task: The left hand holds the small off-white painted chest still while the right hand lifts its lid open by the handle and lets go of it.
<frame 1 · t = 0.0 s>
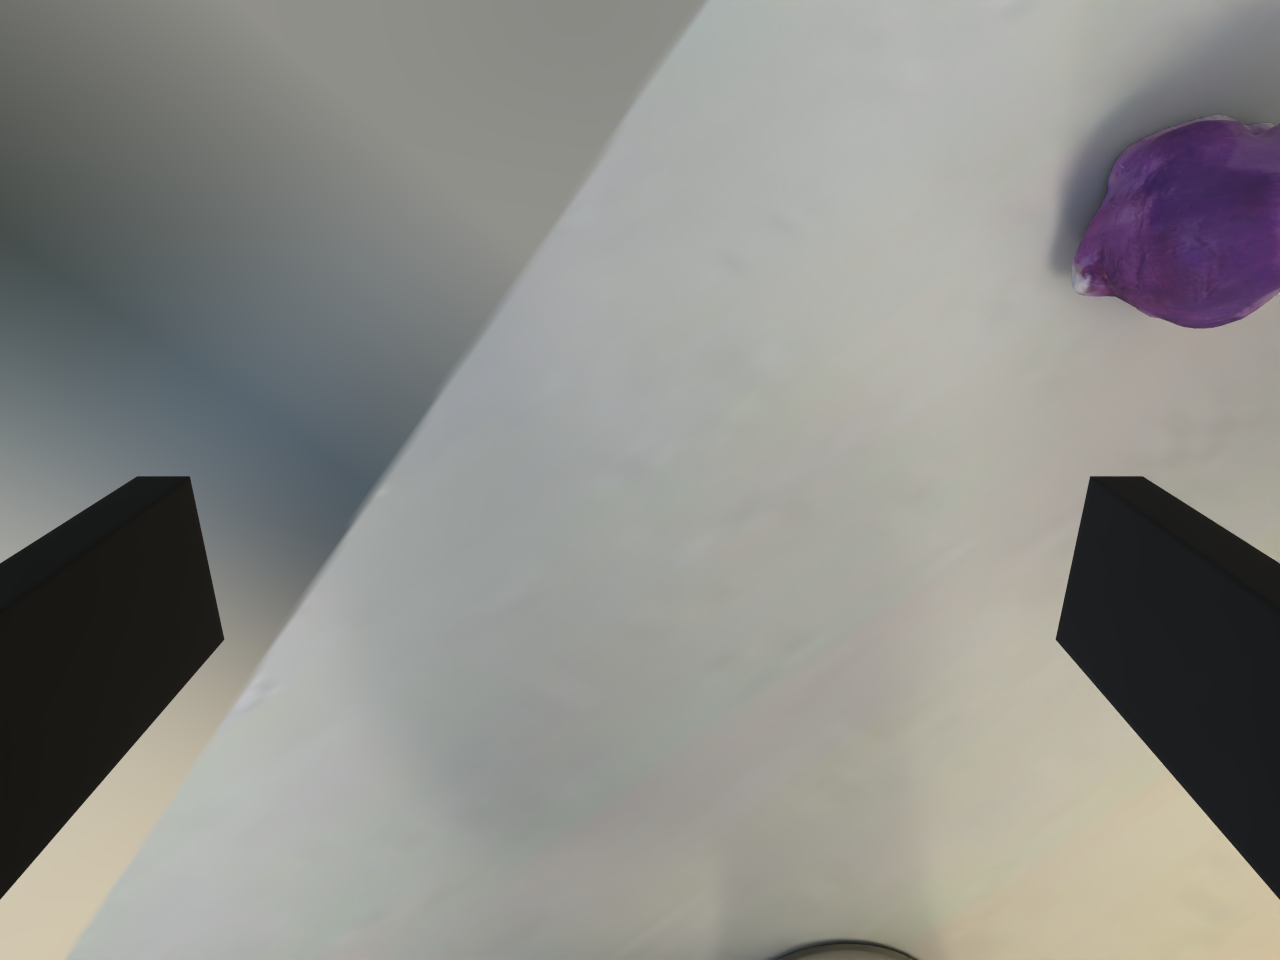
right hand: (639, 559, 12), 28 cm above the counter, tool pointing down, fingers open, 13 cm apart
figurine: (1183, 199, 37), on the counter
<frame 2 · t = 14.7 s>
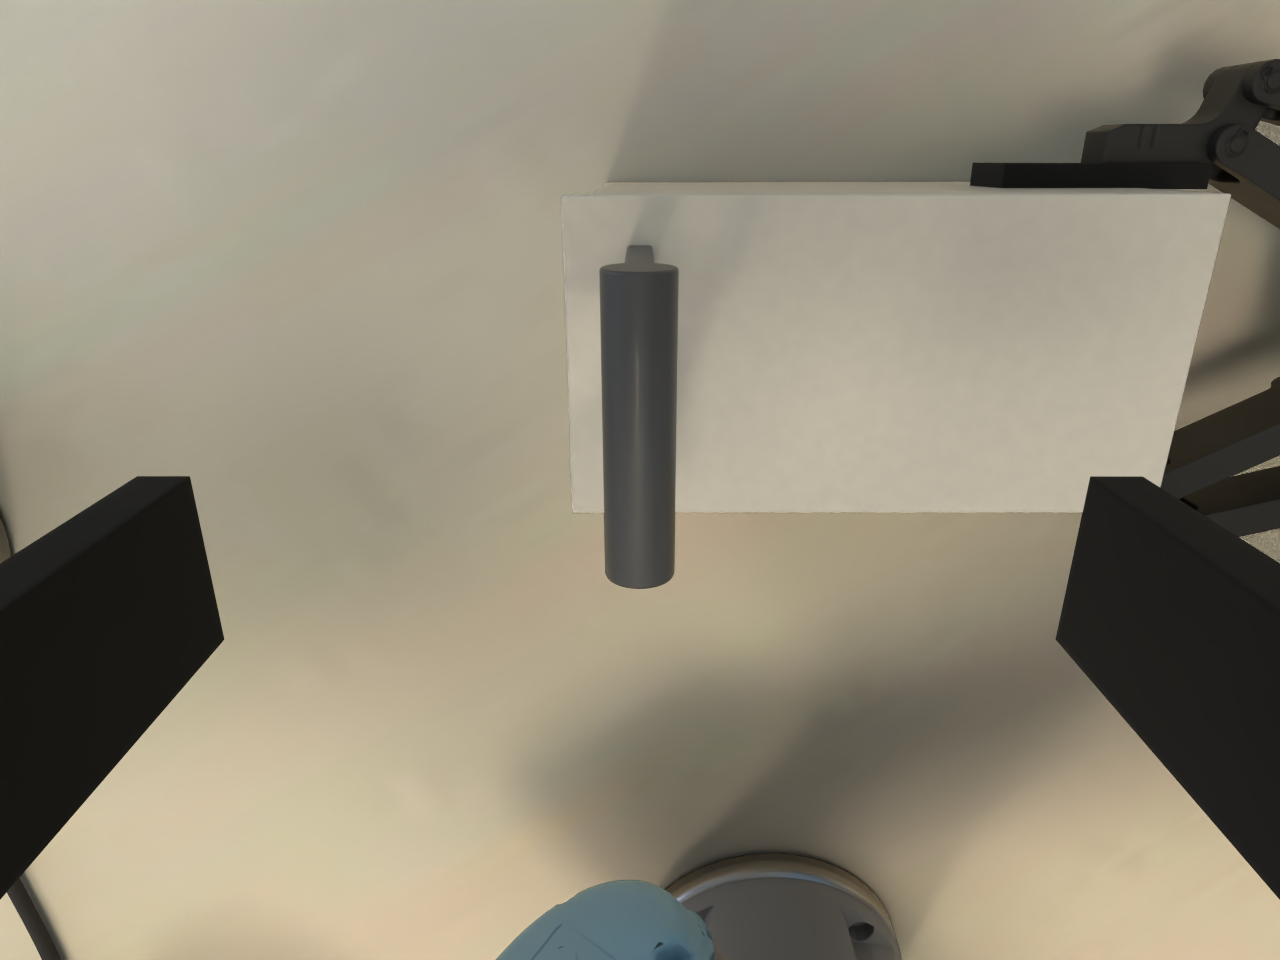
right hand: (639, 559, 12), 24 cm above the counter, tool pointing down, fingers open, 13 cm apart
chest: (811, 298, 35), on the counter, touching left hand
lid: (908, 391, 21), point 15 cm above the counter, hinge at 0.0°
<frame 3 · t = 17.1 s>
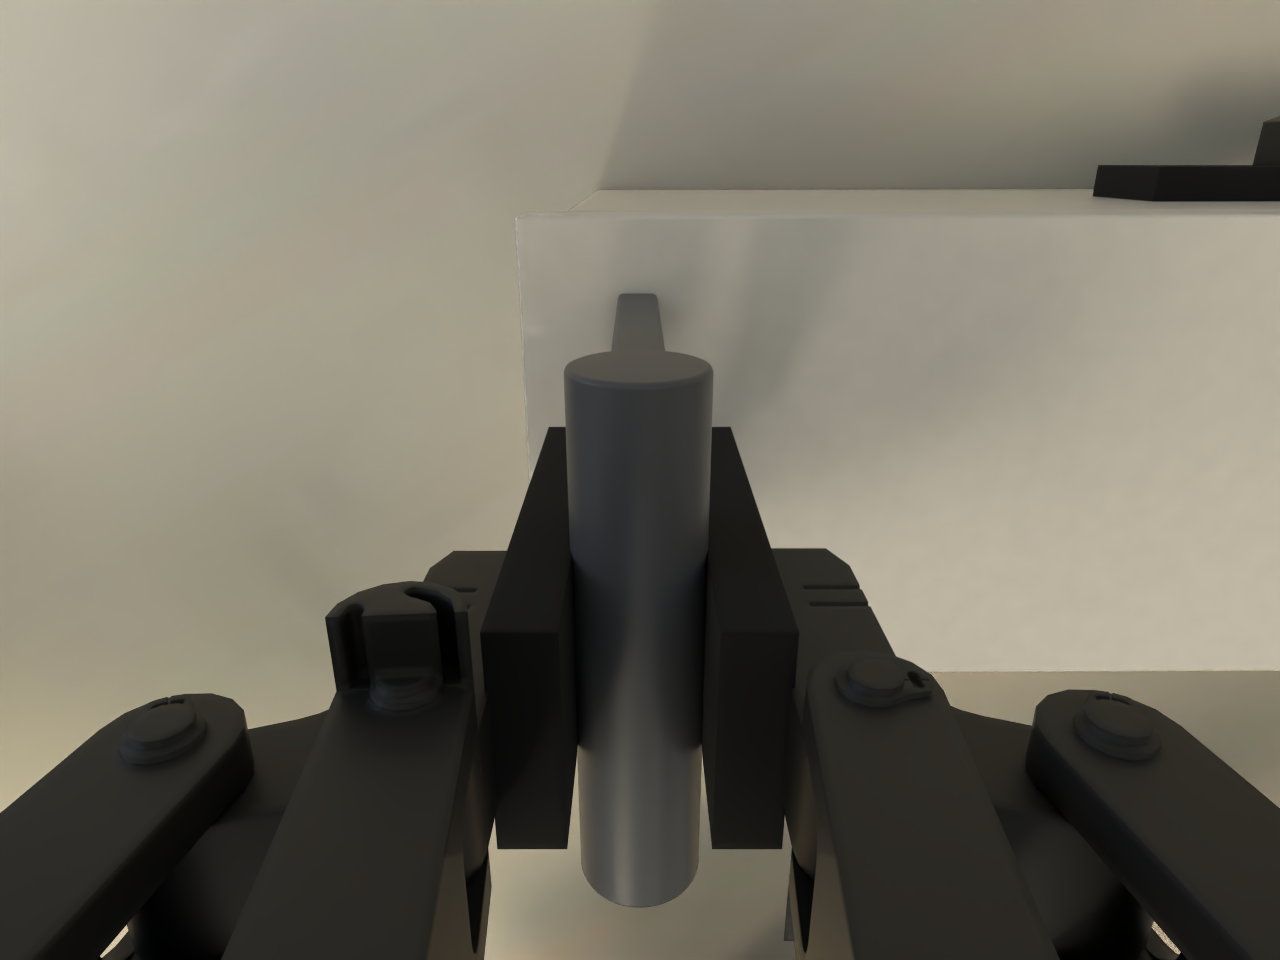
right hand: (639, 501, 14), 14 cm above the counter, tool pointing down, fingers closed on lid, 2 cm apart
chest: (860, 338, 27), on the counter, touching left hand
lid: (1066, 530, 13), point 15 cm above the counter, hinge at 0.6°, touching right hand
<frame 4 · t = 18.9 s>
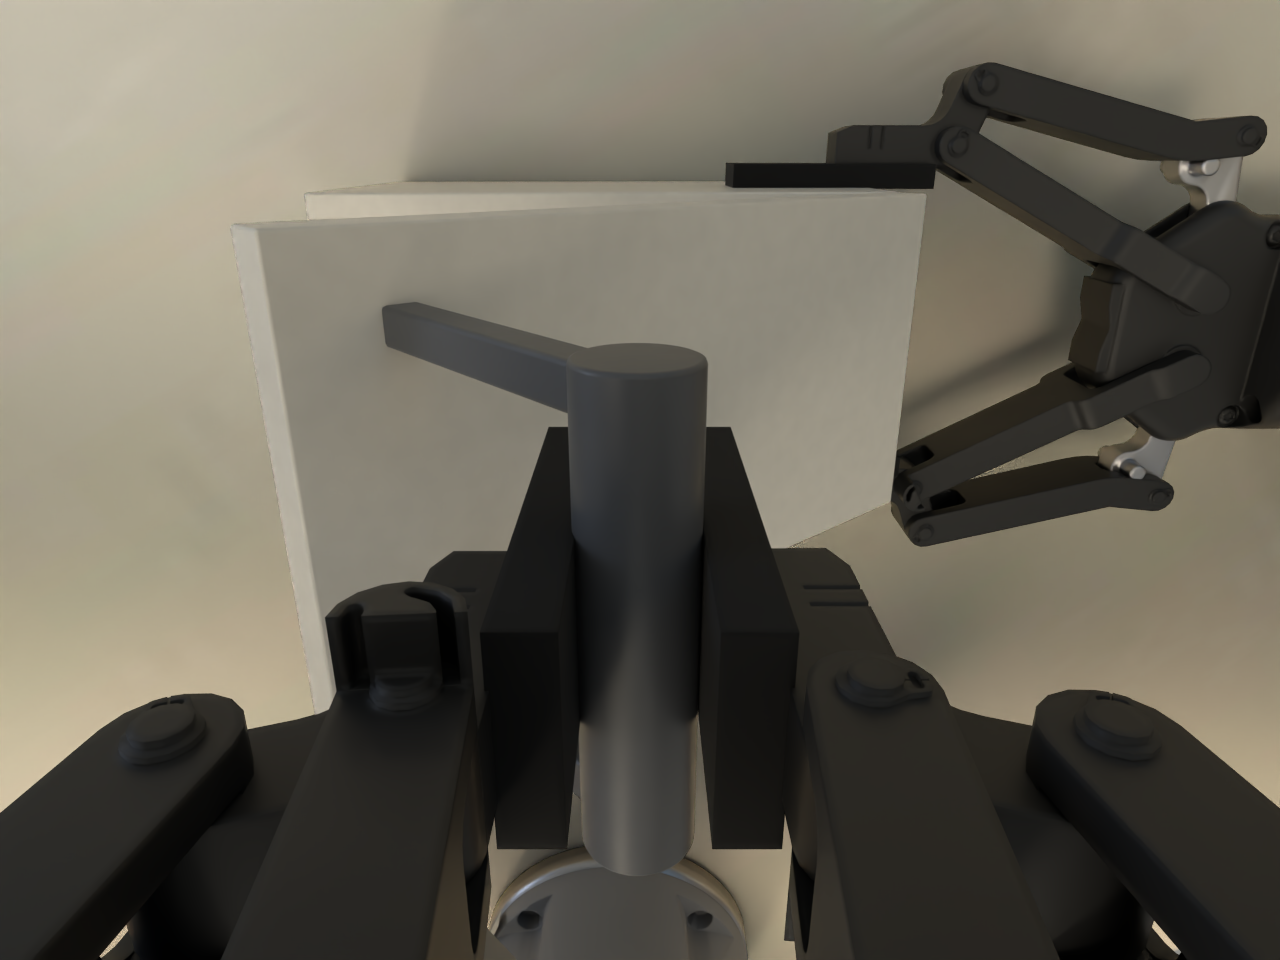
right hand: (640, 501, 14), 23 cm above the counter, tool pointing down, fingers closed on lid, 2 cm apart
left hand: (723, 323, 30), fingers closed on chest, 9 cm apart
chest: (610, 296, 36), on the counter, touching left hand
lid: (786, 447, 17), point 20 cm above the counter, hinge at 39.6°, touching right hand
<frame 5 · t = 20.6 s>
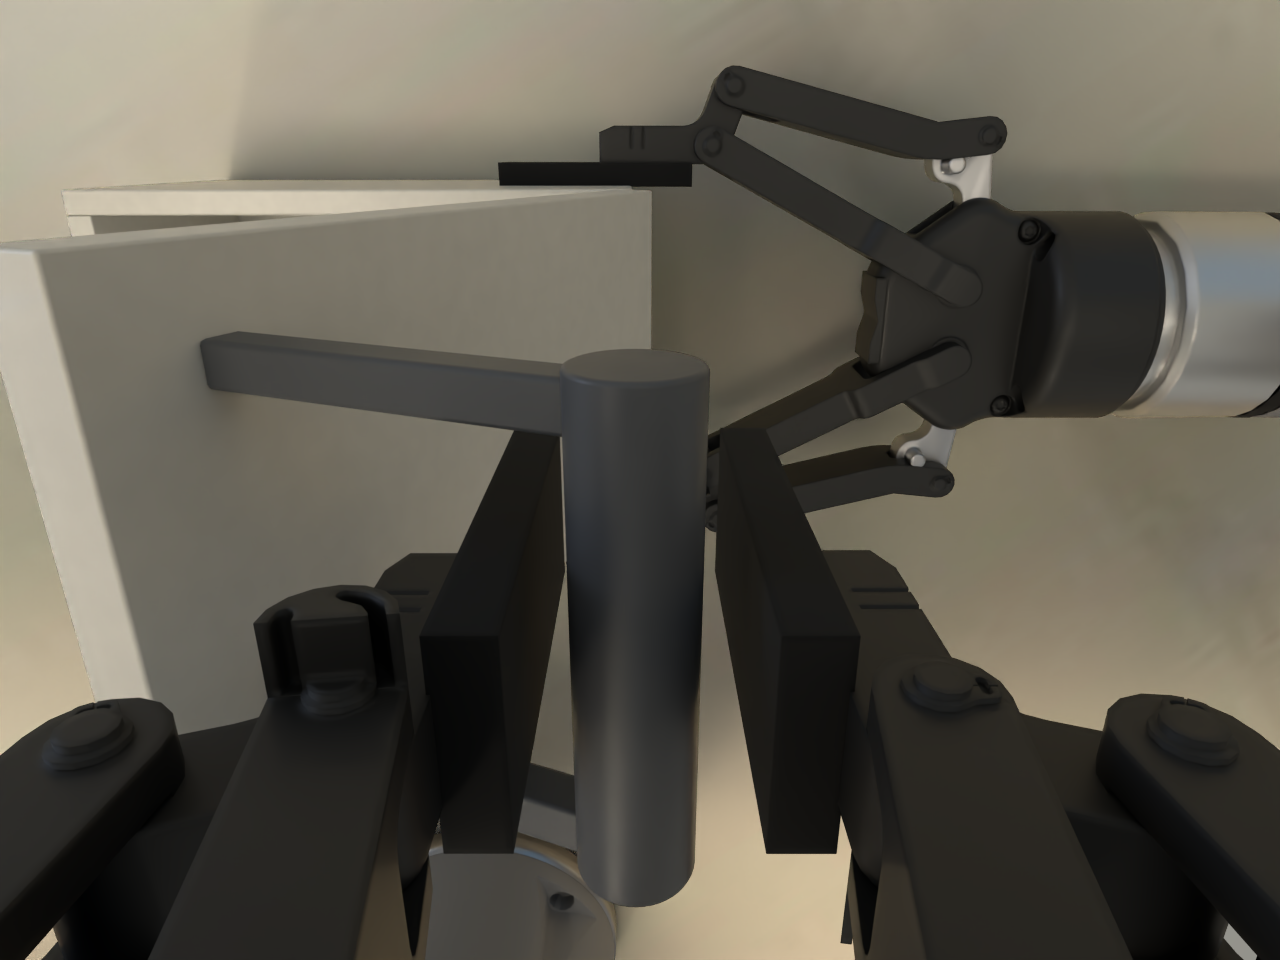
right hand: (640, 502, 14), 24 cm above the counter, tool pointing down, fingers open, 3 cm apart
left hand: (513, 316, 31), fingers closed on chest, 9 cm apart
chest: (436, 291, 37), on the counter, touching left hand
lid: (619, 443, 17), point 21 cm above the counter, hinge at 66.3°
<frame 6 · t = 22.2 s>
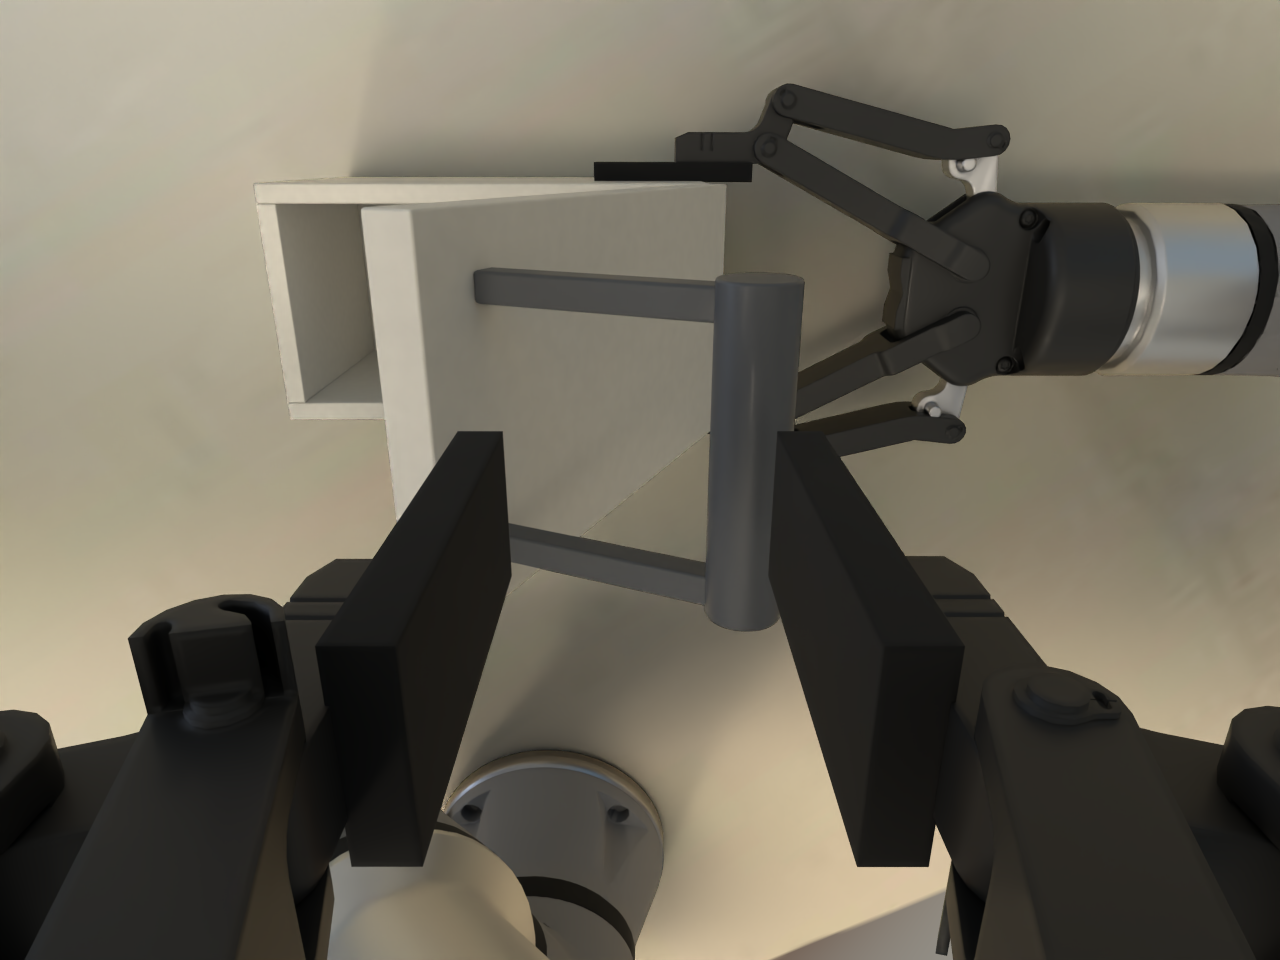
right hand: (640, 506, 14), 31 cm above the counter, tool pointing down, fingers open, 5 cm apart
left hand: (598, 290, 37), fingers closed on chest, 9 cm apart
chest: (521, 272, 43), on the counter, touching left hand
lid: (713, 367, 23), point 21 cm above the counter, hinge at 64.5°
when the left hand's fingers open (6 cm above the counter, at t = 24.9 s): chest stays where it is, on the counter.
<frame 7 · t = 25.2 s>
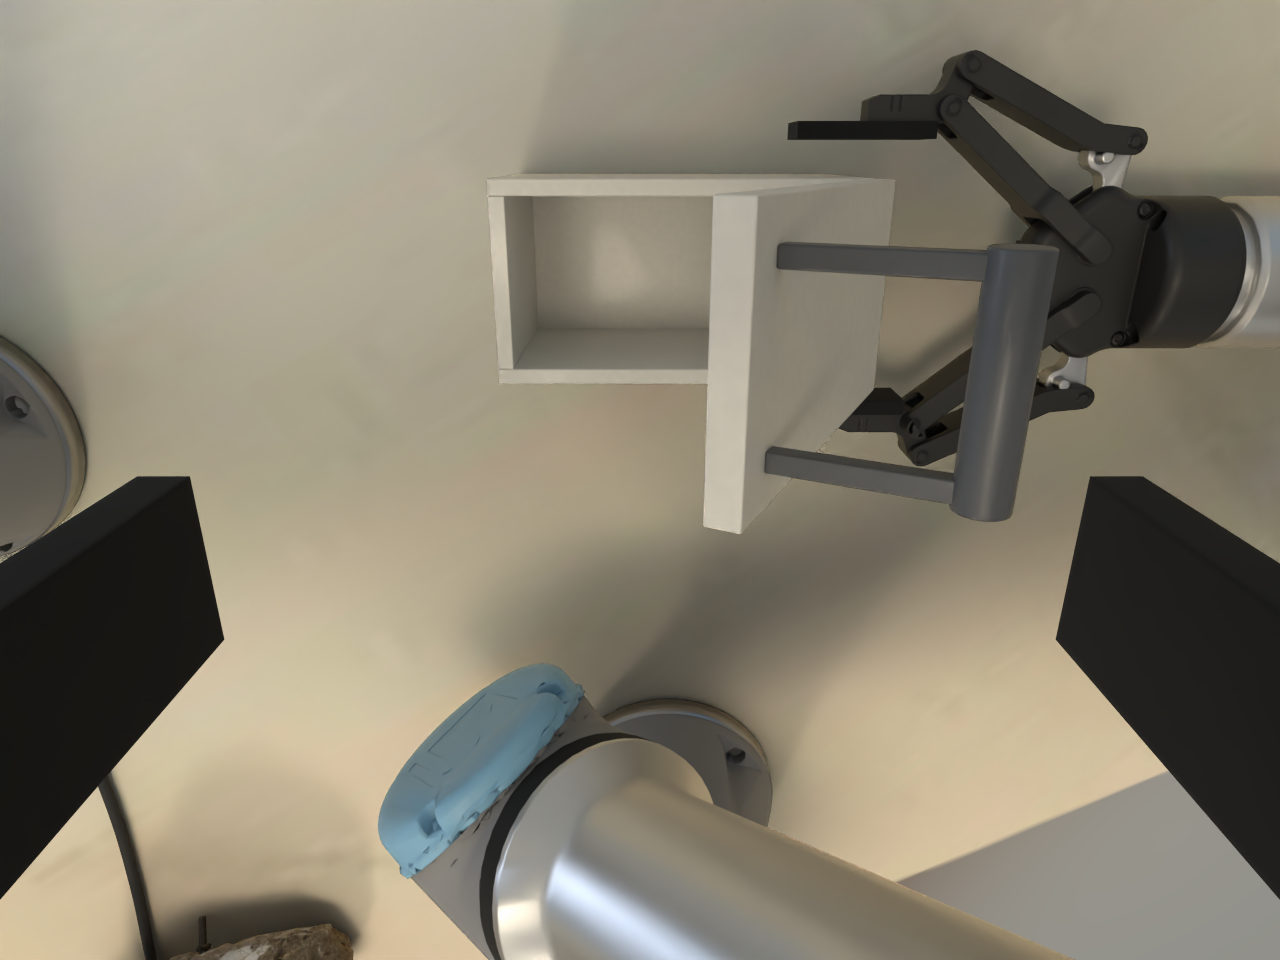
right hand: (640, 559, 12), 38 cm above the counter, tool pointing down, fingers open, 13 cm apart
left hand: (782, 273, 42), fingers open, 13 cm apart
fossil: (227, 945, 68), on the counter
chest: (671, 259, 48), on the counter
lid: (915, 329, 29), point 21 cm above the counter, hinge at 63.4°
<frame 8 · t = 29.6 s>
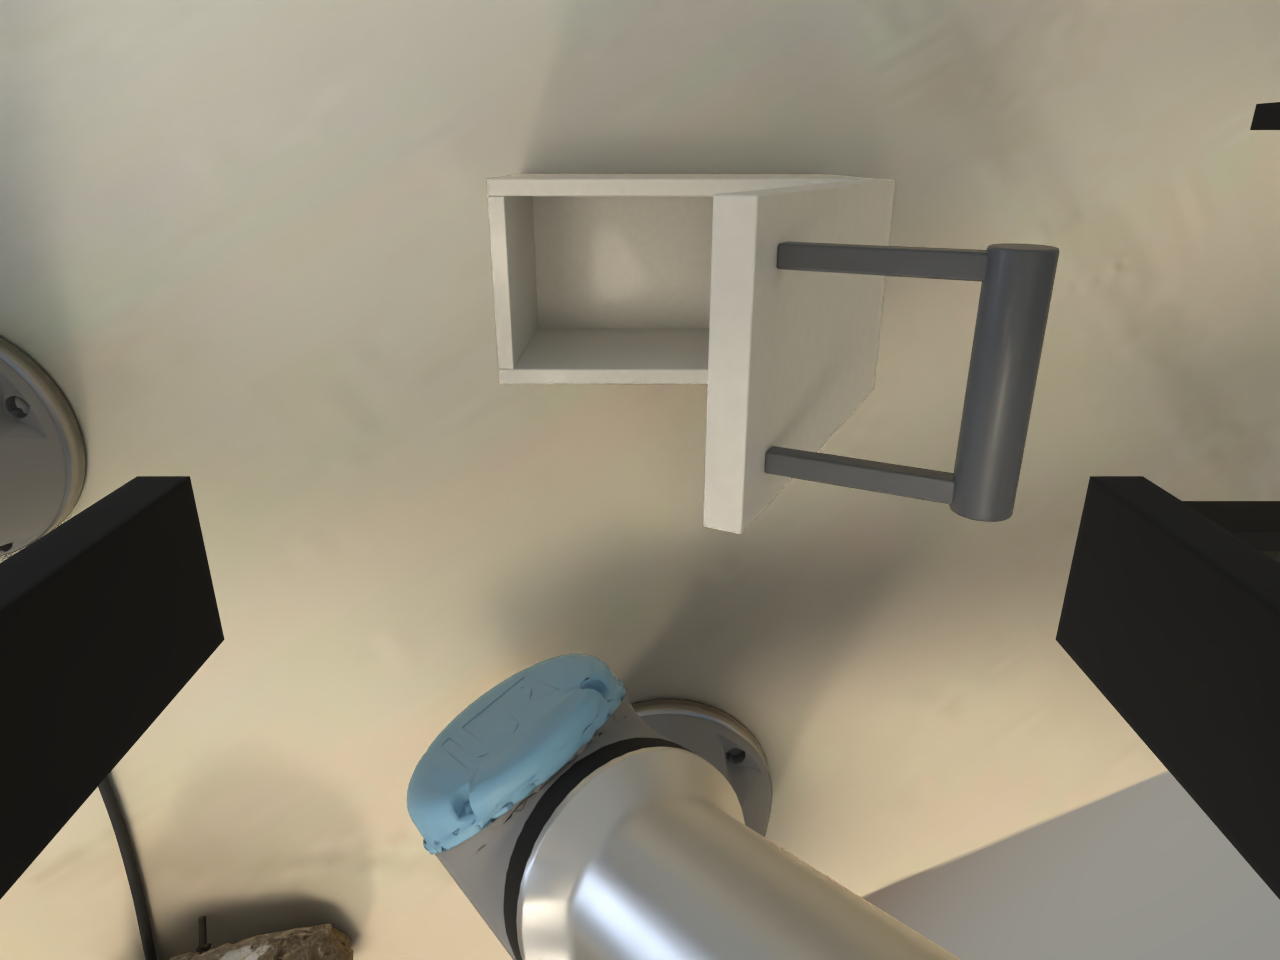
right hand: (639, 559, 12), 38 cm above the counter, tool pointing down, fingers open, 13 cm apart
fossil: (227, 945, 68), on the counter
chest: (671, 258, 48), on the counter
lid: (915, 329, 29), point 21 cm above the counter, hinge at 63.4°
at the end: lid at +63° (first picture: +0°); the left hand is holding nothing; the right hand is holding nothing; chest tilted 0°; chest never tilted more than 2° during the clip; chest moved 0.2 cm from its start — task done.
